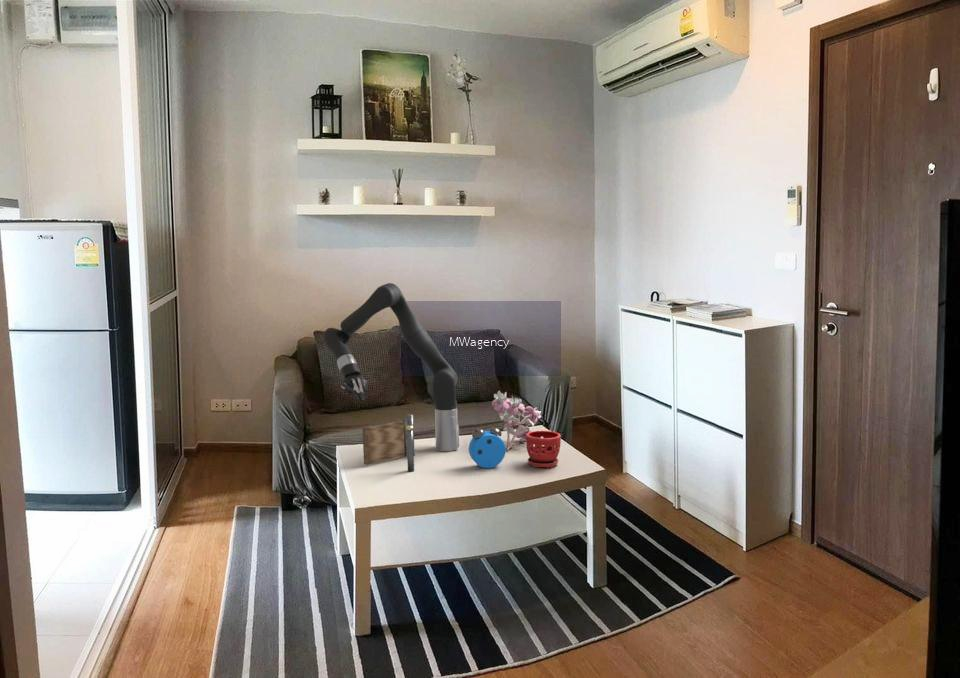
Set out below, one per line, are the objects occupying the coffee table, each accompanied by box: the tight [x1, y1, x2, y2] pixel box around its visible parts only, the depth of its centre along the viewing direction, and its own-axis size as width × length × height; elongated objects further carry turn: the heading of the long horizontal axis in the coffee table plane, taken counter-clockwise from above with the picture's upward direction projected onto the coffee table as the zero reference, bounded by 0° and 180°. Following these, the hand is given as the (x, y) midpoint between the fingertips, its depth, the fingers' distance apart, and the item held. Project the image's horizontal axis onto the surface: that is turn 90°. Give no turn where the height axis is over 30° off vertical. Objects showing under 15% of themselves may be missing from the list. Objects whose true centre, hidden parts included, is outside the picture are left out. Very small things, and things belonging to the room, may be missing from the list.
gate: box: [362, 418, 407, 466], centre depth 277 cm, size 19×2×15 cm, turn 126°
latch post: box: [406, 425, 415, 473], centre depth 266 cm, size 3×3×17 cm
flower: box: [491, 390, 542, 451], centre depth 297 cm, size 20×22×25 cm
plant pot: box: [525, 430, 562, 468], centre depth 271 cm, size 13×13×12 cm
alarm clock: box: [468, 427, 507, 469], centre depth 269 cm, size 13×6×15 cm, turn 107°
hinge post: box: [406, 413, 416, 456], centre depth 284 cm, size 3×3×17 cm
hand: (362, 402), depth 287 cm, fingers closed
